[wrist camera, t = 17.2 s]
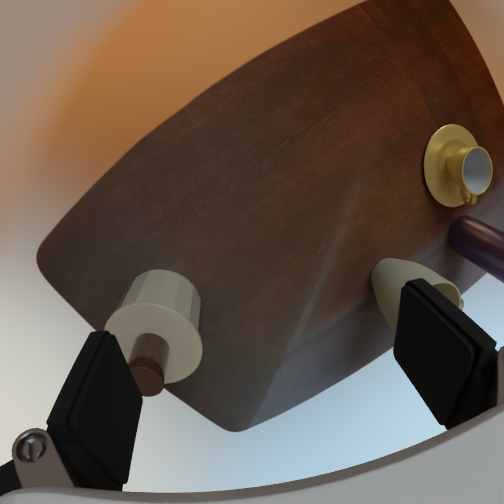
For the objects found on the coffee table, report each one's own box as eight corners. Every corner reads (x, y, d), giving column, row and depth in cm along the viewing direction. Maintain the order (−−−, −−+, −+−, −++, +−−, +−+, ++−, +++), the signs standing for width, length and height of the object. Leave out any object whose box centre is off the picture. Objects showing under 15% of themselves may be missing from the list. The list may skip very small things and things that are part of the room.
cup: (418, 125, 35) (443, 126, 30) (477, 124, 35) (501, 126, 30) (423, 212, 39) (446, 223, 34) (479, 200, 39) (502, 209, 34)
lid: (101, 359, 33) (85, 398, 27) (115, 283, 30) (94, 318, 24) (187, 387, 36) (184, 428, 29) (216, 317, 32) (216, 358, 26)
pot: (119, 322, 41) (102, 360, 33) (135, 258, 38) (116, 289, 30) (188, 345, 43) (184, 387, 35) (212, 284, 40) (211, 321, 32)
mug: (372, 316, 44) (410, 366, 33) (347, 267, 41) (388, 313, 30) (429, 276, 43) (476, 315, 32) (411, 223, 40) (466, 255, 28)
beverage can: (441, 234, 41) (510, 275, 27) (463, 206, 40) (535, 238, 26) (456, 258, 43) (519, 302, 29) (477, 231, 41) (542, 267, 27)
